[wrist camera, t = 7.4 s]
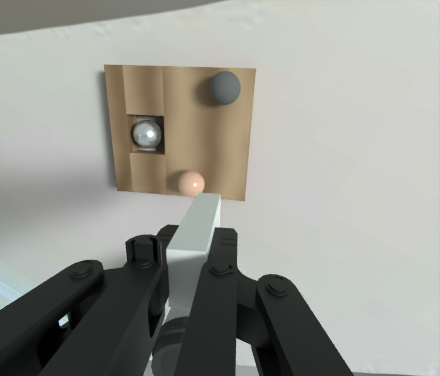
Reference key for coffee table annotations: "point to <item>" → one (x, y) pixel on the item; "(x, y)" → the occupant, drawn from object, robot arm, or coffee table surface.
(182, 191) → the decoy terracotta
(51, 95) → the coffee table surface
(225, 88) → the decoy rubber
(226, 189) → the wooden flat board
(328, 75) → the coffee table surface
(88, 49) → the coffee table surface
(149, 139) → the steel ball
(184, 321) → the coffee cup
